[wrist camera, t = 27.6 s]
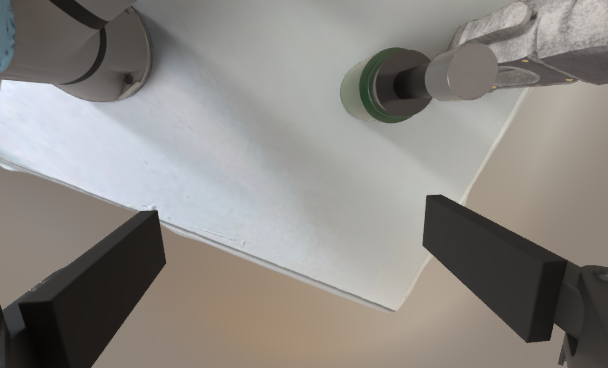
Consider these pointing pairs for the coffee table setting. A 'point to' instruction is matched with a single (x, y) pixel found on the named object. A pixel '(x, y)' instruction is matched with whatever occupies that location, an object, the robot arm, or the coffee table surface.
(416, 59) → the bottle
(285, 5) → the coffee table surface
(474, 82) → the flashlight
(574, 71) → the figurine
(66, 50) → the robot arm
